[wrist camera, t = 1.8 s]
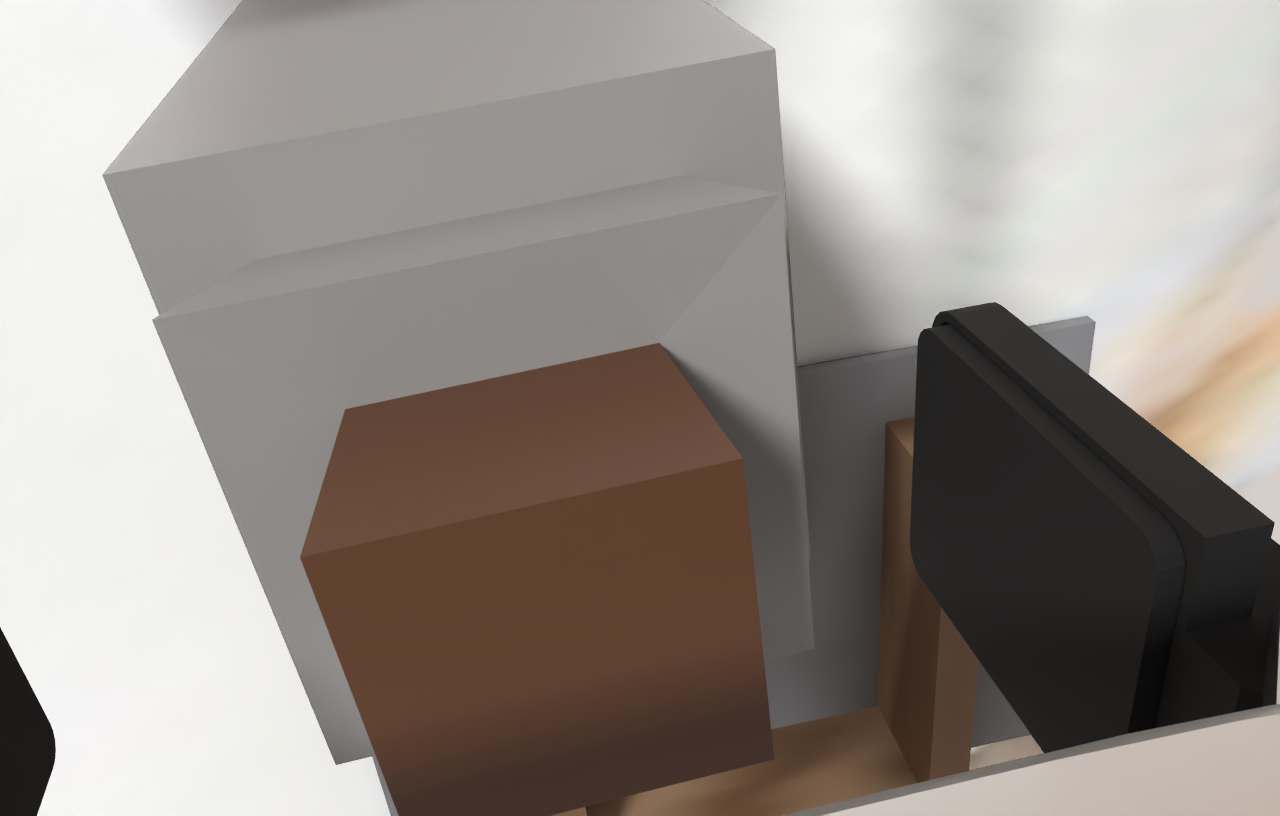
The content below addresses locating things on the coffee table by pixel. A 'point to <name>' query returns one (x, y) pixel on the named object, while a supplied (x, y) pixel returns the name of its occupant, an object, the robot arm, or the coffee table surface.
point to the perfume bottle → (495, 377)
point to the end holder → (859, 620)
